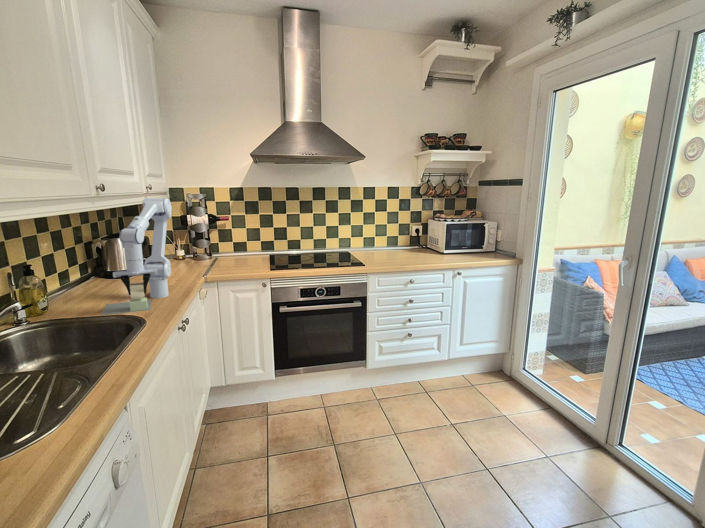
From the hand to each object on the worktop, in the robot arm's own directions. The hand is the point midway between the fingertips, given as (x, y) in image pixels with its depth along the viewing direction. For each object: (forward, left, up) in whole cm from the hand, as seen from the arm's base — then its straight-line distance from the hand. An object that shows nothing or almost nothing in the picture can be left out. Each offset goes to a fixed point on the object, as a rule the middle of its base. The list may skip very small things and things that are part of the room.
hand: (137, 293), depth 136 cm
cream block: (0, 0, -1) cm, 1 cm away
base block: (0, 0, -6) cm, 6 cm away
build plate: (-4, -4, -7) cm, 9 cm away
